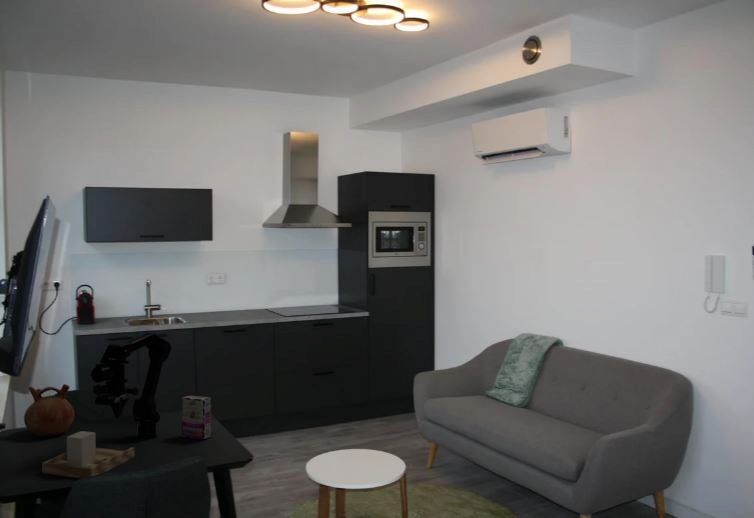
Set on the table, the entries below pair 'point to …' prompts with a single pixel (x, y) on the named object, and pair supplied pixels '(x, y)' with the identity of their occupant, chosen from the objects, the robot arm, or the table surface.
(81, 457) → the cream block
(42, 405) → the jug
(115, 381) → the robot arm
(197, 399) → the candy bar box
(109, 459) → the wooden tray
